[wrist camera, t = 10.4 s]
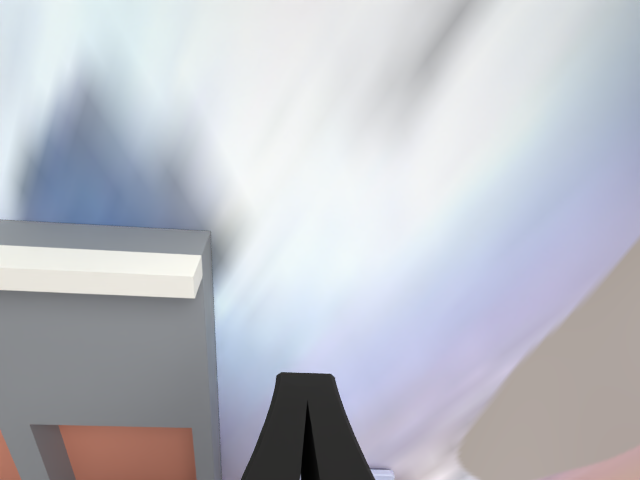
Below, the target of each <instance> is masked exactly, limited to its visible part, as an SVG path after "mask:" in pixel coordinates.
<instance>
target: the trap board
mask: <svg viewBox="0 0 640 480" xmlns="http://www.w3.org/2000/svg"><path fill="white" fill-rule="evenodd" d="M0 480H222V474H221V452H220V430H219V407H218V385H217V363H216V341H215V319H214V297H213V275H212V253H211V231H196V230H178V229H160V228H142V227H123V226H105V225H87V224H69V223H51V222H32V221H14V220H0Z"/></svg>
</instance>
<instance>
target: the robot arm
mask: <svg viewBox="0 0 640 480" xmlns="http://www.w3.org/2000/svg"><path fill="white" fill-rule="evenodd" d="M241 480H395V476H394V473H393V471H391V470H376V469H370V468H369V466H368V464H367V462H366V459H365V457H364V455H363V453H362V451H361V448H360V446H359V444H358V442H357V439H356V437H355V435H354V433H353V430H352V428H351V425H350V423H349V420H348V418H347V415H346V412H345V410H344V407H343V404H342V401H341V398H340V395H339V392H338V389H337V385H336V381H335V377H334V376H332V375H331V374H318V373H287V372H281V373H280V374H278V375H277V376H276V384H275V389H274V393H273V397H272V401H271V405H270V408H269V411H268V414H267V417H266V420H265V423H264V426H263V428H262V431H261V433H260V436H259V439H258V441H257V444H256V446H255V449H254V451H253V454H252V456H251V458H250V461H249V463H248V465H247V467H246V469H245V472H244V474H243V476H242V478H241Z"/></svg>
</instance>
